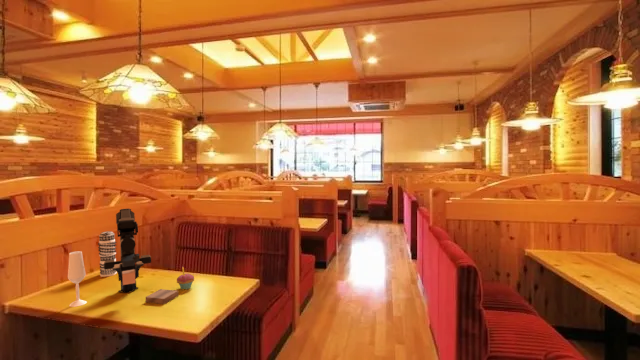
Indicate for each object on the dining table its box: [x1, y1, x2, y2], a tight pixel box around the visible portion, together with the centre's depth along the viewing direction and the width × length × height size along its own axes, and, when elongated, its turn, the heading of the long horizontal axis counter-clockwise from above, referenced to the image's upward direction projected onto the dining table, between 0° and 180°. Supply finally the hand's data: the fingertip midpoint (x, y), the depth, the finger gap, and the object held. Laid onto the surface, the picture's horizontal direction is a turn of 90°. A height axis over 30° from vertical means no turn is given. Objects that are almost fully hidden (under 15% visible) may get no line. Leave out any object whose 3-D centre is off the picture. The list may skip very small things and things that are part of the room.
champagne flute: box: [67, 250, 88, 308], centre depth 155 cm, size 7×7×24 cm
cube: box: [122, 269, 135, 285], centre depth 155 cm, size 5×5×5 cm
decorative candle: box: [97, 230, 118, 278], centre depth 197 cm, size 9×9×25 cm
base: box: [145, 288, 179, 305], centre depth 160 cm, size 10×10×2 cm
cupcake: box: [176, 265, 195, 290], centre depth 174 cm, size 9×8×12 cm
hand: (128, 280), depth 155 cm, fingers closed on cube, 5 cm apart
